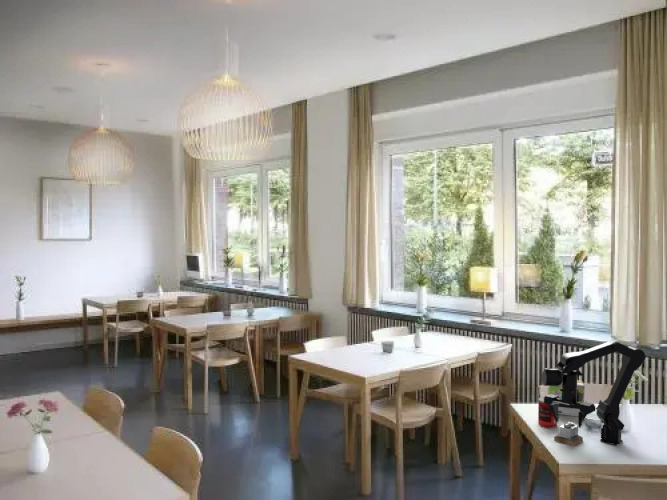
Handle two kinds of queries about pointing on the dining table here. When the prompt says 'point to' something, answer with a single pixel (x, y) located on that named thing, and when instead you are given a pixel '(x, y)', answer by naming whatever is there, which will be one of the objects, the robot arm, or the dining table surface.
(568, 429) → the housing
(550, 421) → the canned food
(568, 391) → the robot arm
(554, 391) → the tea box
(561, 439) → the stand
